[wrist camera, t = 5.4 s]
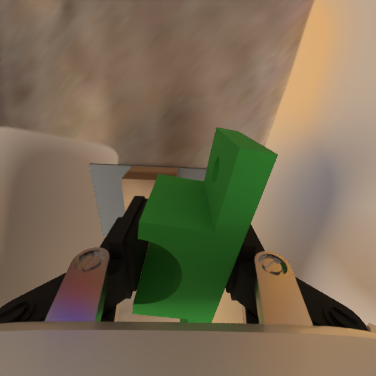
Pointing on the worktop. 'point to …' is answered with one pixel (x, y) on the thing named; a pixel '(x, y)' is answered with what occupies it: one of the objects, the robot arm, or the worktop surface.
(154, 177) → the base brick
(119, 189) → the mat
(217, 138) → the green notched block
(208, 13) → the worktop surface
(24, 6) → the worktop surface
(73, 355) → the robot arm
